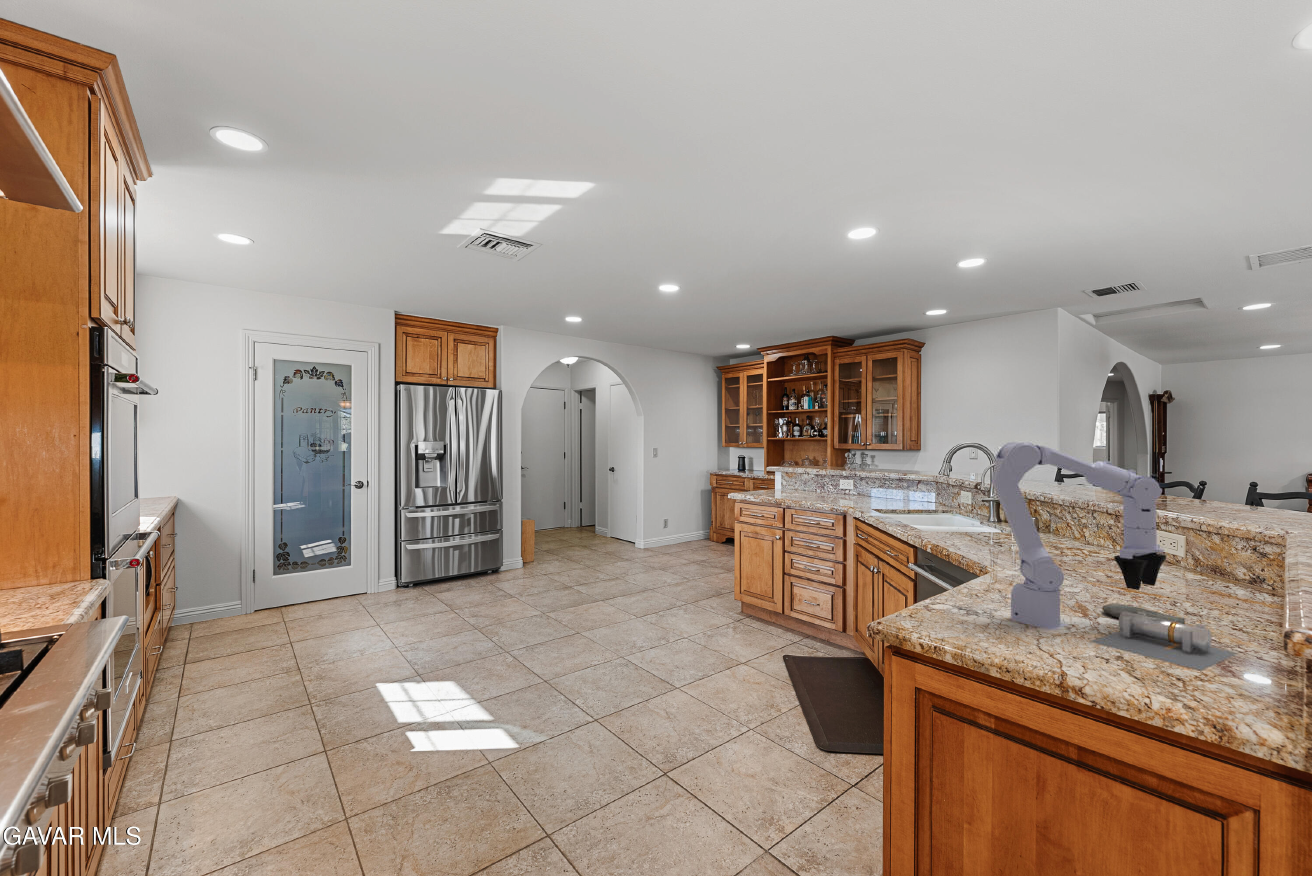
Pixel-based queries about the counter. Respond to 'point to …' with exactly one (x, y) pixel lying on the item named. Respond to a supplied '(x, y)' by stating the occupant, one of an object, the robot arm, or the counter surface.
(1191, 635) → the collar
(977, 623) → the counter surface
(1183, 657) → the board
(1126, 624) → the collar
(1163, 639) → the tube
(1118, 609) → the stone
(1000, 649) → the counter surface
